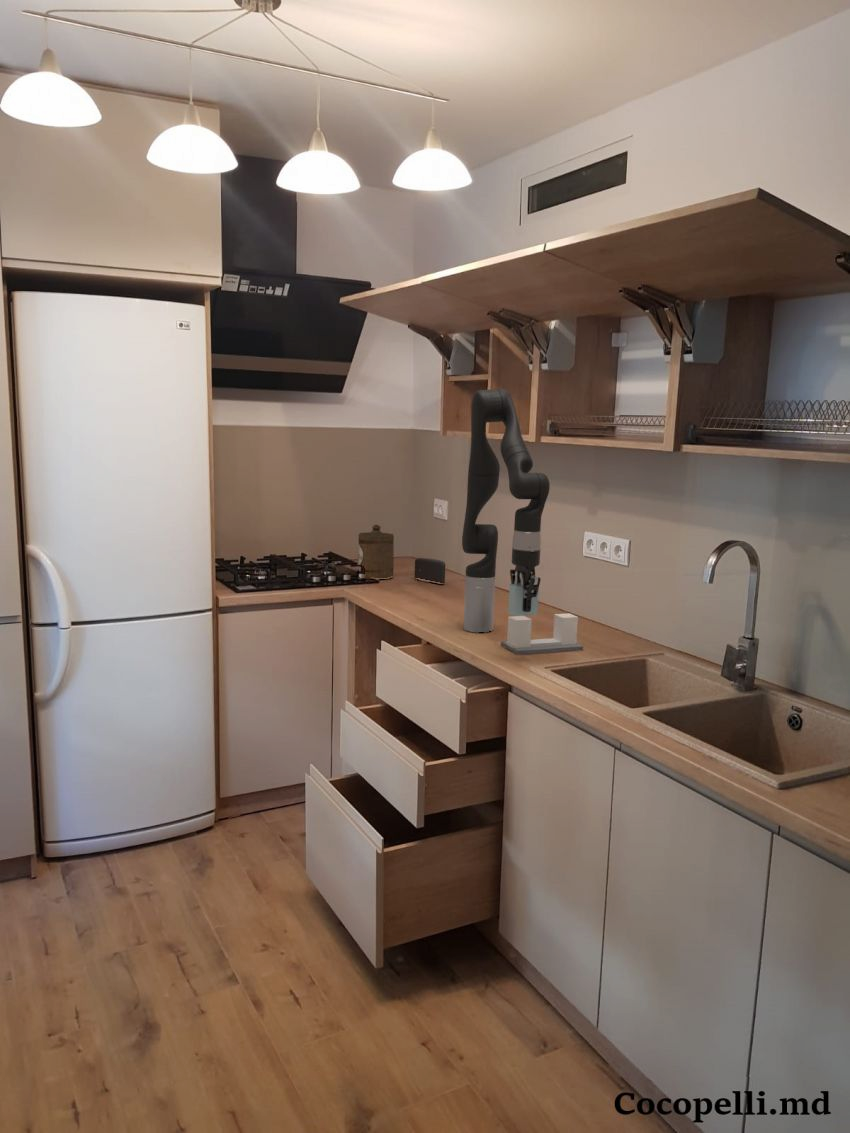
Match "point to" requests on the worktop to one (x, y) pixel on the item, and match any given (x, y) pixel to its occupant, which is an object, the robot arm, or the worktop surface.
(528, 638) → the board
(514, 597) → the block
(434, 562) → the upright dark grey panel
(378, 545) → the wooden container
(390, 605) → the worktop surface
